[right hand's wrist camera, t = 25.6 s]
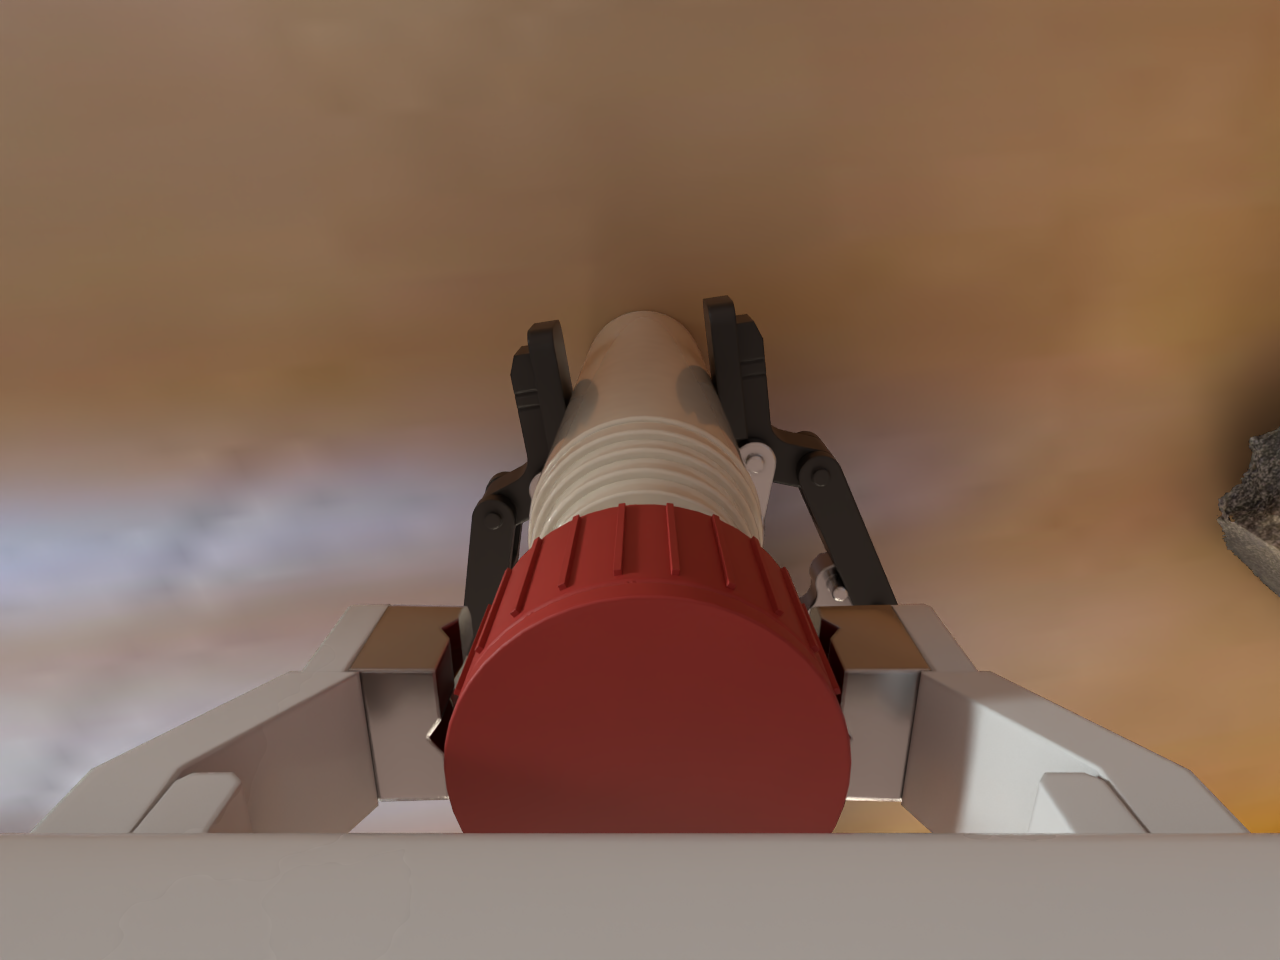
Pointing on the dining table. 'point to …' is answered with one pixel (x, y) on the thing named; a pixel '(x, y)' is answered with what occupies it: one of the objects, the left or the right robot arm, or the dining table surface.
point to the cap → (647, 688)
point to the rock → (1257, 512)
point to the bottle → (644, 433)
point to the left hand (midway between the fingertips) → (629, 316)
